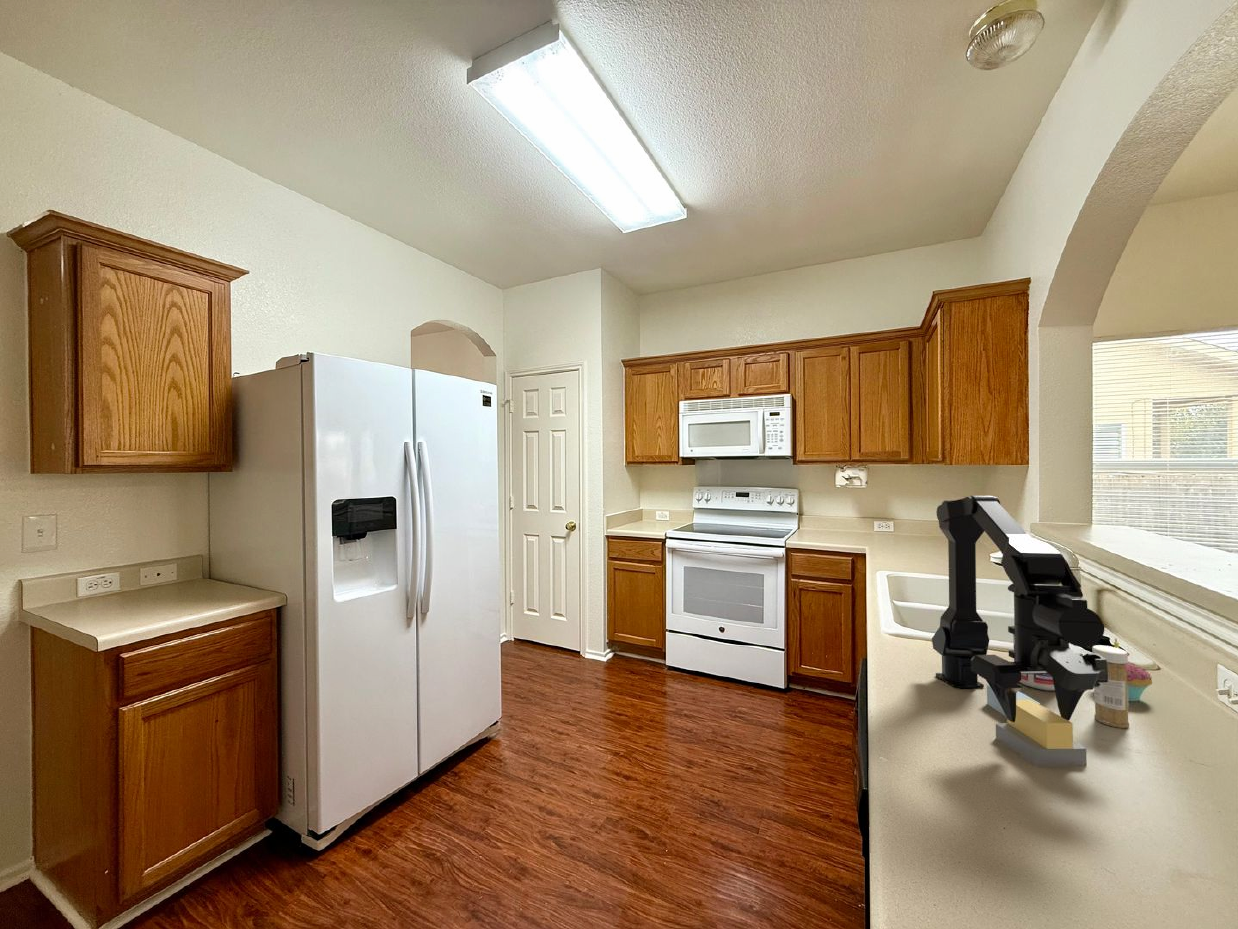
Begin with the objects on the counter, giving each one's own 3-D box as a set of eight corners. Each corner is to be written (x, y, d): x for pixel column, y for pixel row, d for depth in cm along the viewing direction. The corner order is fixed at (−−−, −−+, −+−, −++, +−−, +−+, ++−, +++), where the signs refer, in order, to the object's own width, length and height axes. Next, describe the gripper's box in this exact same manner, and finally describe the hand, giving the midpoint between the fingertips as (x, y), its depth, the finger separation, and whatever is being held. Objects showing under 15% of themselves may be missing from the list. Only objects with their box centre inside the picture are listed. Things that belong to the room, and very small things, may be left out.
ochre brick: (1007, 723, 84) (1006, 699, 85) (1030, 722, 84) (1030, 699, 84) (1047, 749, 76) (1046, 723, 77) (1073, 748, 76) (1072, 723, 76)
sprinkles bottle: (1132, 724, 88) (1130, 649, 89) (1125, 732, 86) (1123, 655, 86) (1097, 714, 92) (1096, 642, 92) (1090, 721, 90) (1088, 647, 90)
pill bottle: (1068, 686, 104) (1067, 618, 104) (1056, 696, 99) (1055, 625, 100) (1021, 673, 111) (1020, 609, 111) (1008, 682, 106) (1006, 616, 106)
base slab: (995, 741, 84) (995, 723, 84) (1041, 739, 84) (1040, 722, 84) (1037, 769, 76) (1036, 750, 76) (1086, 767, 76) (1086, 748, 77)
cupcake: (1142, 709, 94) (1141, 647, 94) (1084, 692, 101) (1083, 634, 101) (1159, 699, 98) (1157, 639, 98) (1102, 683, 105) (1101, 627, 105)
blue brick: (987, 704, 97) (986, 684, 97) (1008, 705, 96) (1007, 684, 97) (1018, 726, 89) (1018, 703, 89) (1041, 726, 88) (1040, 704, 89)
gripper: (1023, 643, 72) (1025, 750, 72) (1144, 641, 73) (1147, 746, 73) (967, 620, 83) (969, 712, 83) (1072, 618, 84) (1074, 709, 84)
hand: (1038, 720), depth 80 cm, fingers open, 9 cm apart
